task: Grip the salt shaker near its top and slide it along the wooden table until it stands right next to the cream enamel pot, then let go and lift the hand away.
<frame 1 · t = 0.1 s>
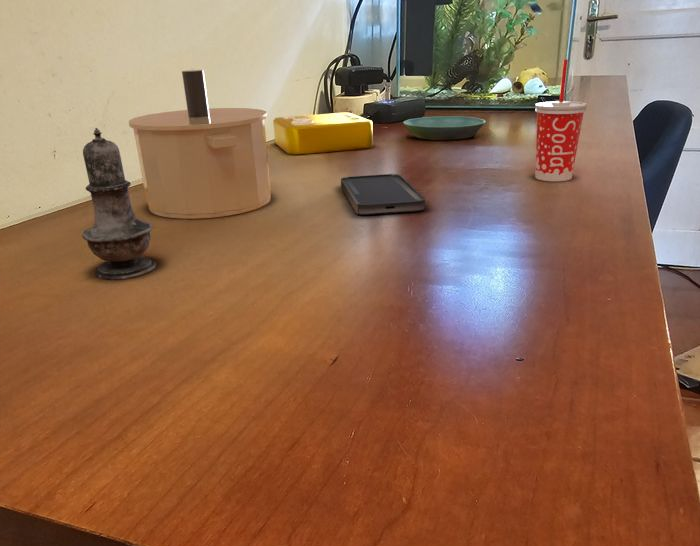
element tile: (322, 146, 113), on the table
pot lid: (199, 120, 74), point 9 cm above the table, touching pot
pot: (210, 202, 78), on the table
salt shaker: (126, 271, 57), on the table
saucer: (443, 137, 117), on the table
beverage cup: (553, 179, 83), on the table
phone: (379, 198, 77), on the table
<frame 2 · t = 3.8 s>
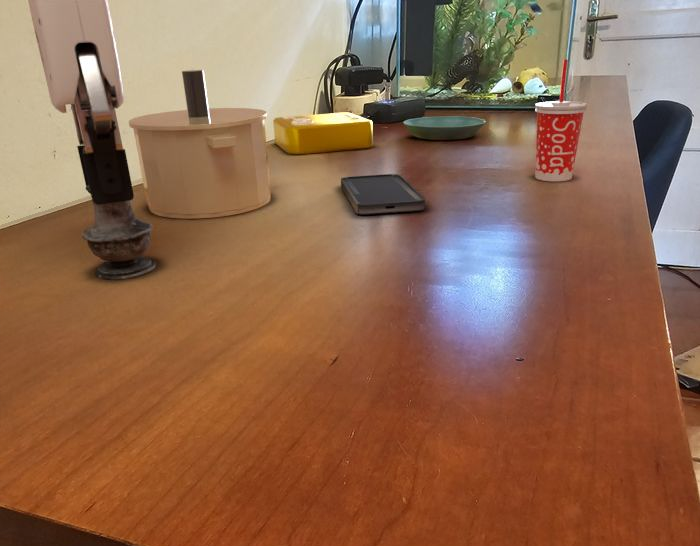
hand: (110, 194, 54), 7 cm above the table, tool pointing down, fingers closed on salt shaker, 3 cm apart
salt shaker: (126, 271, 57), on the table, touching gripper
everything else where it was.
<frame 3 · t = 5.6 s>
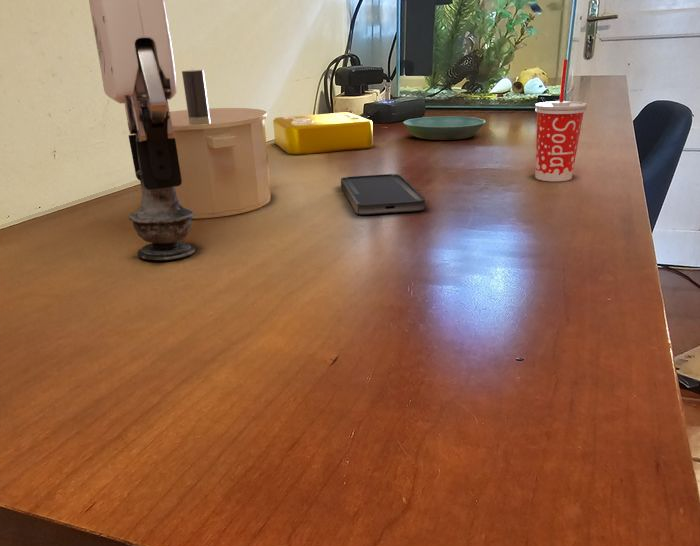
hand: (158, 180, 58), 7 cm above the table, tool pointing down, fingers closed on salt shaker, 3 cm apart
salt shaker: (166, 254, 60), on the table, touching gripper
everything else where it was.
when the fingers open (7 cm above the table, at t = 7.7 s): salt shaker stays where it is, on the table.
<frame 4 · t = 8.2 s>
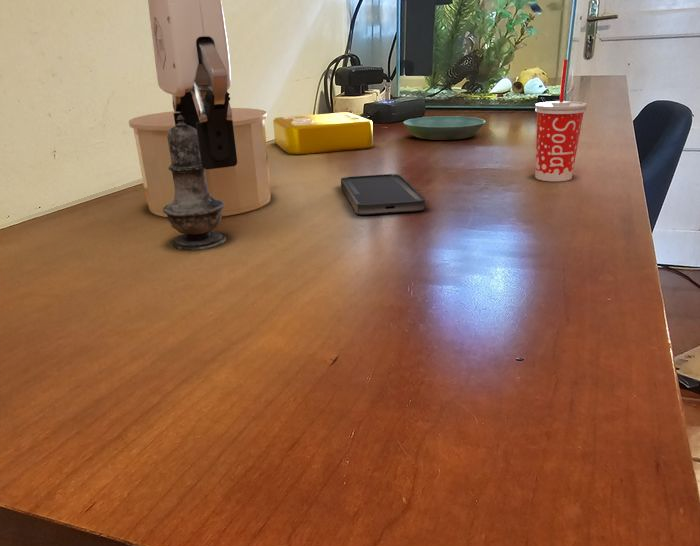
hand: (207, 159, 62), 8 cm above the table, tool pointing down, fingers open, 8 cm apart
salt shaker: (199, 243, 64), on the table
everything else where it was.
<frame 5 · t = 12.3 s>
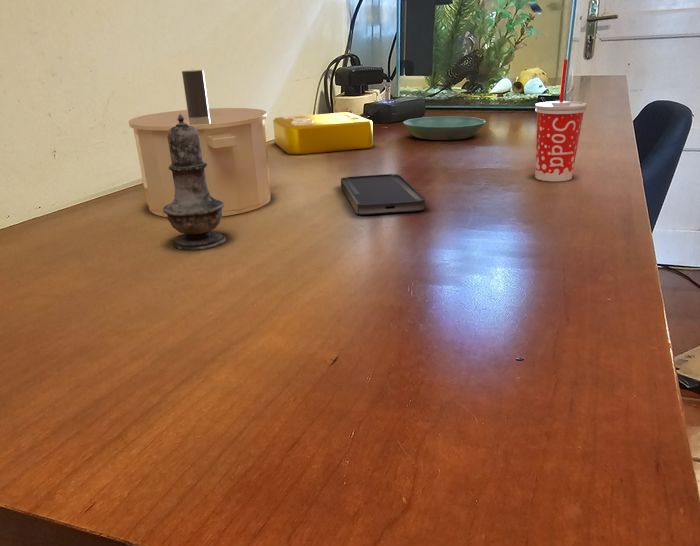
nothing on the table moved.
at the end: salt shaker inside the target area on the table beside the pot (2.6 cm from its centre), on the table; salt shaker tilted 0°; salt shaker moved 9.0 cm from its start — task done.
